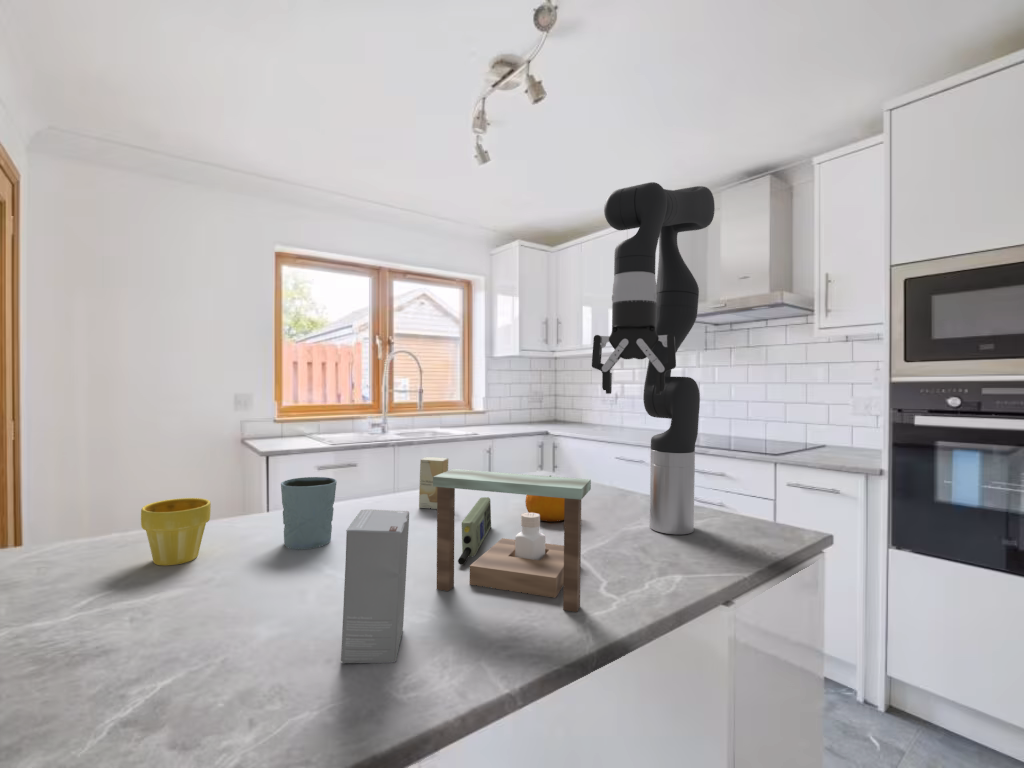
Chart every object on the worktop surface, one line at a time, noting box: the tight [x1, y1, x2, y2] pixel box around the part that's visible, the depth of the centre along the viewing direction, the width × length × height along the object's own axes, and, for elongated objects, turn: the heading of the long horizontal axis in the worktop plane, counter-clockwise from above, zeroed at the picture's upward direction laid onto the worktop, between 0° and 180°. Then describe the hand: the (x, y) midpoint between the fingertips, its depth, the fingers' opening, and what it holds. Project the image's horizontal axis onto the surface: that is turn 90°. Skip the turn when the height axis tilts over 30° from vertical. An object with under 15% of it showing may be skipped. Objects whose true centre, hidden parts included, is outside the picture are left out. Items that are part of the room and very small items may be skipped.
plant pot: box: [140, 497, 212, 566], centre depth 91 cm, size 10×10×10 cm
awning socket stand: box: [433, 468, 592, 613], centre depth 84 cm, size 19×23×18 cm
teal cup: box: [280, 476, 337, 550], centre depth 101 cm, size 10×10×12 cm
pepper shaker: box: [514, 512, 546, 560], centre depth 88 cm, size 4×4×10 cm
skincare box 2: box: [418, 456, 449, 510], centre depth 129 cm, size 6×4×12 cm
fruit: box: [525, 495, 565, 522], centre depth 120 cm, size 12×12×10 cm
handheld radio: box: [457, 496, 492, 566], centre depth 101 cm, size 7×3×25 cm
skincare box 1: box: [340, 509, 410, 664], centre depth 63 cm, size 8×7×16 cm
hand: (632, 393), depth 91 cm, fingers open, 8 cm apart
